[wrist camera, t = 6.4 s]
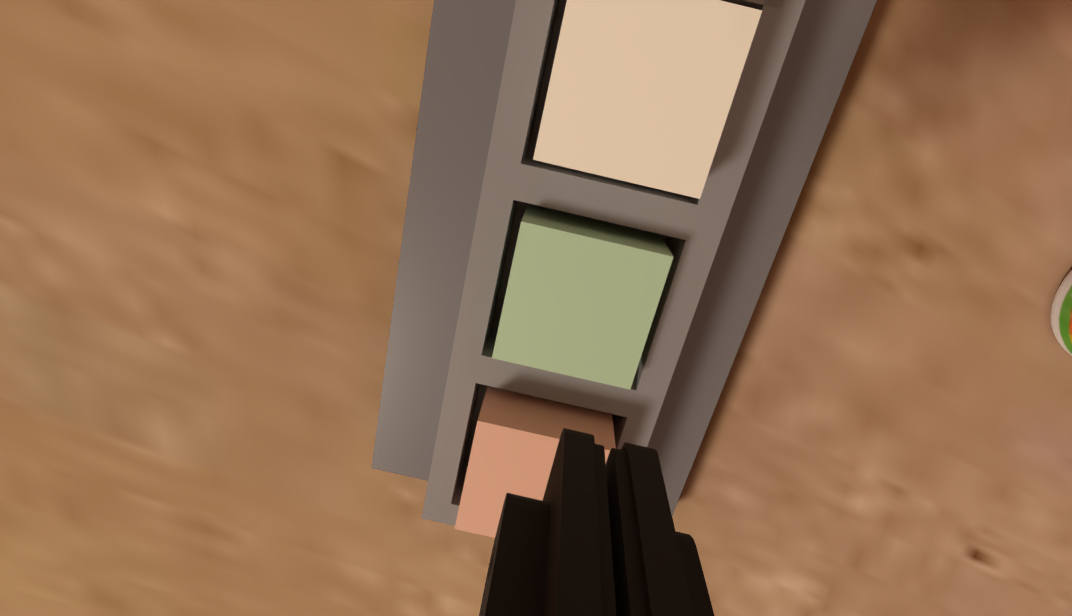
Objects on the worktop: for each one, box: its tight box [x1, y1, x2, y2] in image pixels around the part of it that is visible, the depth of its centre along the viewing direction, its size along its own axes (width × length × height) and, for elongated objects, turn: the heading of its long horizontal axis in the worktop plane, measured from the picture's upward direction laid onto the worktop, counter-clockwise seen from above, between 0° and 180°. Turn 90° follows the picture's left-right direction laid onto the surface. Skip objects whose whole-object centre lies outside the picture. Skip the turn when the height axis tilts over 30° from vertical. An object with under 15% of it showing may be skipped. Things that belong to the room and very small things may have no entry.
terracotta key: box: [455, 386, 616, 538], centre depth 21 cm, size 5×5×3 cm
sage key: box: [492, 203, 673, 389], centre depth 19 cm, size 5×5×3 cm
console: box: [372, 0, 877, 526], centre depth 20 cm, size 13×21×4 cm, turn 168°
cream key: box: [533, 0, 762, 199], centre depth 16 cm, size 5×5×3 cm
